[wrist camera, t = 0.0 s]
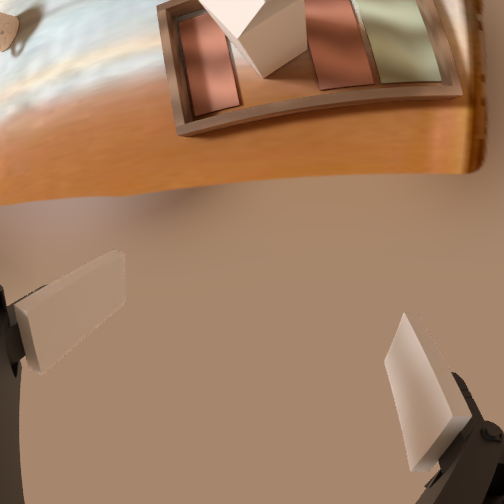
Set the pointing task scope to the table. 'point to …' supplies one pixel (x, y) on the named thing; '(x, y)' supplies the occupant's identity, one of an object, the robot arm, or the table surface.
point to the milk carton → (262, 29)
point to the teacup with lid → (7, 30)
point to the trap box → (324, 58)
